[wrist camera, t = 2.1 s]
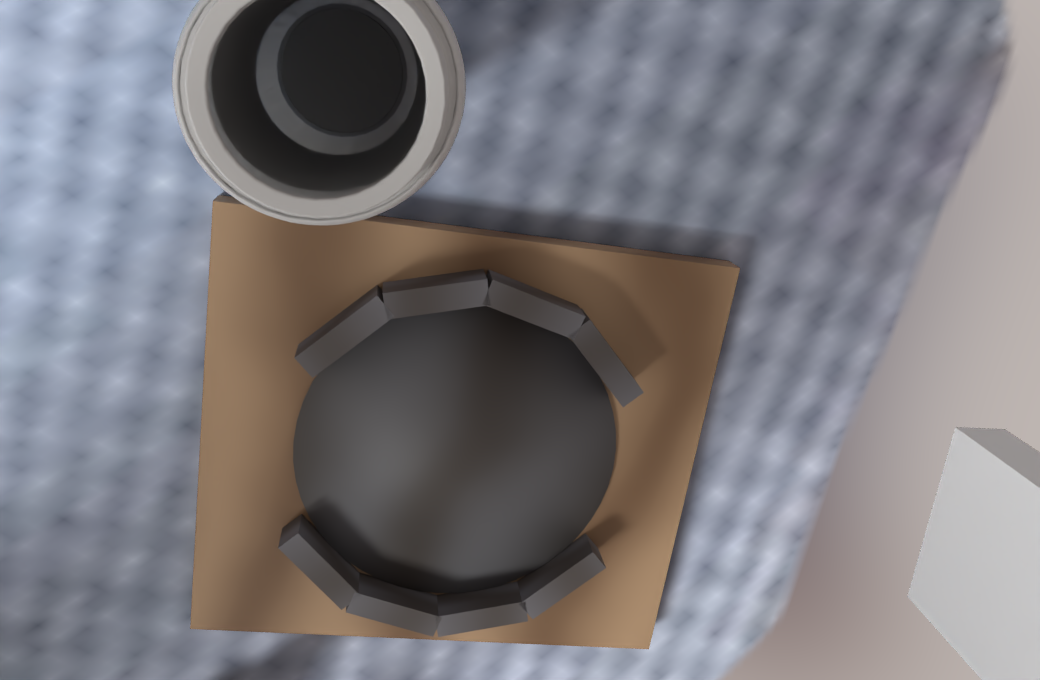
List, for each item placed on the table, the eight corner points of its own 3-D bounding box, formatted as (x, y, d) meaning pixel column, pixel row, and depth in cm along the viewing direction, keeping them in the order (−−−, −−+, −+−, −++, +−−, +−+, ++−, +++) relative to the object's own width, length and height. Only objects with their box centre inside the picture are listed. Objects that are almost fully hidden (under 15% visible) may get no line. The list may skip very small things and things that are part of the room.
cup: (405, -57, 31) (415, -106, 20) (466, 130, 33) (506, 182, 22) (208, 8, 31) (105, -4, 19) (284, 191, 33) (230, 275, 22)
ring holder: (196, 611, 38) (182, 652, 36) (218, 195, 33) (204, 208, 30) (641, 632, 42) (658, 671, 39) (729, 261, 36) (754, 278, 34)
